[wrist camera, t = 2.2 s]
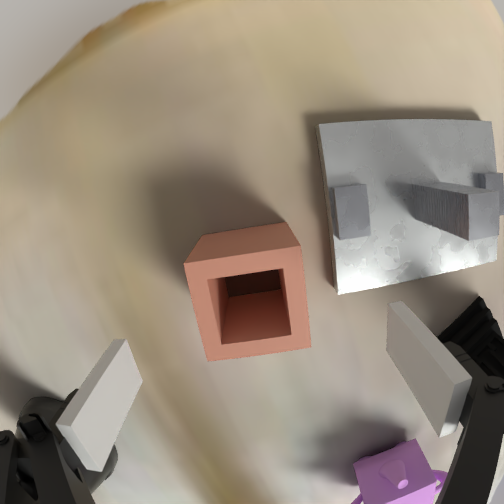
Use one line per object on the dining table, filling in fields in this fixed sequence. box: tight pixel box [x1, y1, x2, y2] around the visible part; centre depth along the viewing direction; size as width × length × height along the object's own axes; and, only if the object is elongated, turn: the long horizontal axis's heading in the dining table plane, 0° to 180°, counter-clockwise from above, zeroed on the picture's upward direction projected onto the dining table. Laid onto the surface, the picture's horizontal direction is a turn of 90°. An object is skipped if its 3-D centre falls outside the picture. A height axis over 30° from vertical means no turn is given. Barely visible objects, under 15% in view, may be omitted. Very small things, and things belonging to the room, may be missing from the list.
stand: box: [315, 119, 504, 295], centre depth 21 cm, size 18×14×10 cm
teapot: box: [351, 439, 448, 504], centre depth 30 cm, size 15×13×11 cm
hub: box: [183, 222, 311, 361], centre depth 24 cm, size 7×7×8 cm
